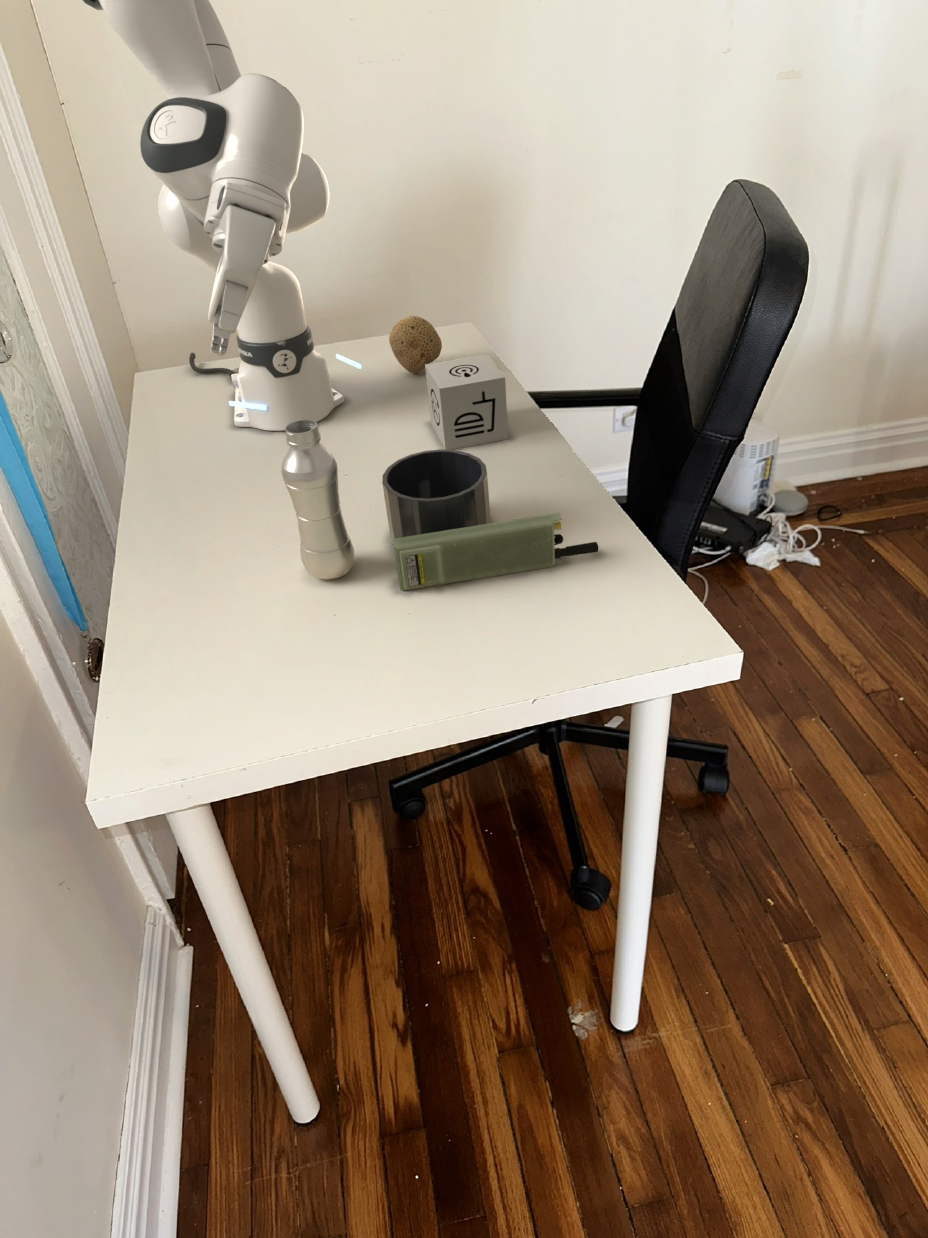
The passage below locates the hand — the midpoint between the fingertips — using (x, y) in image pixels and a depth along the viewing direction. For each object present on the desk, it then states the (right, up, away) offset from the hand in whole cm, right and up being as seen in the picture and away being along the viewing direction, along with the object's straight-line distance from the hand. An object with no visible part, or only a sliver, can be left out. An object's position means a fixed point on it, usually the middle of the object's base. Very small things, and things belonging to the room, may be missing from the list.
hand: (221, 342), depth 103 cm
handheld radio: (+32, -25, +11) cm, 42 cm away
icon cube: (+28, -2, +42) cm, 50 cm away
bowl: (+24, -20, +18) cm, 36 cm away
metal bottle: (+10, -25, +13) cm, 30 cm away
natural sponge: (+19, +13, +63) cm, 67 cm away
